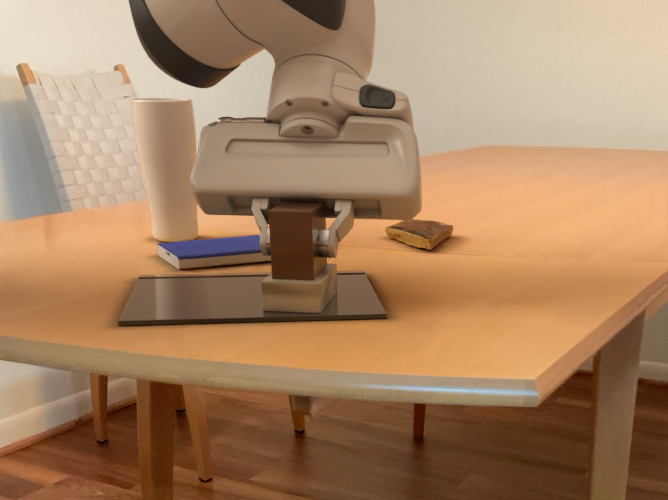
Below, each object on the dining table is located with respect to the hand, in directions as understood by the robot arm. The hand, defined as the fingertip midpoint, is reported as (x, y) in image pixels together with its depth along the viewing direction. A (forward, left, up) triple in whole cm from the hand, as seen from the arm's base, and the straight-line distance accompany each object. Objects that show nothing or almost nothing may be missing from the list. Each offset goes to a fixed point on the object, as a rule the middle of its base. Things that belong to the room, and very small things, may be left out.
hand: (298, 253), depth 78 cm
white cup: (-13, +35, -5) cm, 37 cm away
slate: (-4, +4, -5) cm, 7 cm away
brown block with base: (0, +1, -4) cm, 4 cm away
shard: (+17, +31, -5) cm, 35 cm away
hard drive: (-7, +23, -5) cm, 24 cm away
